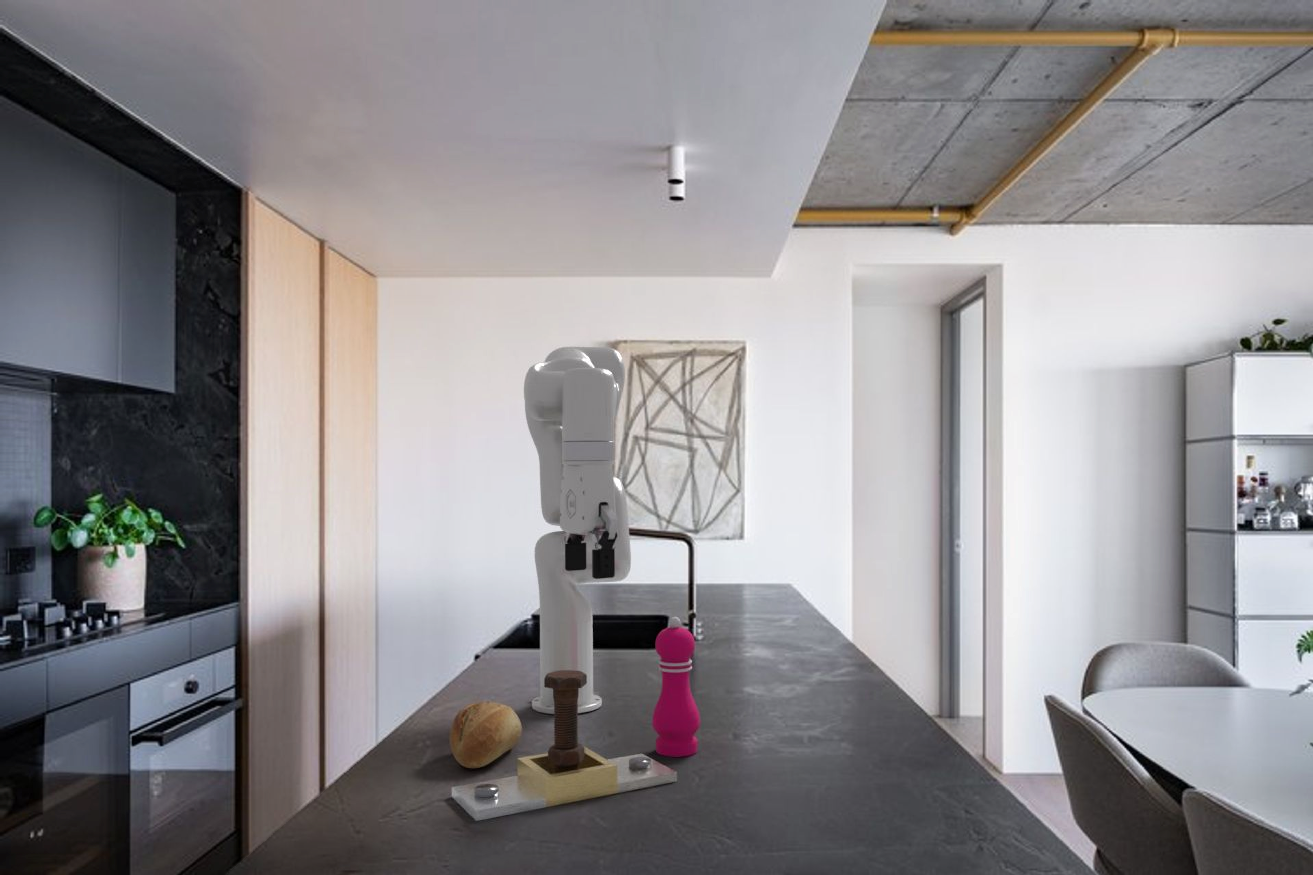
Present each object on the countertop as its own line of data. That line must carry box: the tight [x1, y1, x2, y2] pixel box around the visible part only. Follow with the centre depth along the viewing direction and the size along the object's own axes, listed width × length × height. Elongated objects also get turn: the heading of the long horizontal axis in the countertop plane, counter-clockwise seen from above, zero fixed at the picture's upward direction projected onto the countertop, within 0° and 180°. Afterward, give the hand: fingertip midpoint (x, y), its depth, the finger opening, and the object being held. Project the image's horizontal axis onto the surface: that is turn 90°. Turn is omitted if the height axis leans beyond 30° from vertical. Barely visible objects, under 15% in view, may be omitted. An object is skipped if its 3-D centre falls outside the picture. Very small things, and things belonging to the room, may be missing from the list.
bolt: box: [544, 670, 587, 774], centre depth 122 cm, size 6×5×15 cm
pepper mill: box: [651, 616, 701, 758], centre depth 138 cm, size 7×7×20 cm
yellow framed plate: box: [451, 746, 678, 822], centre depth 121 cm, size 10×28×4 cm, turn 119°
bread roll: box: [448, 701, 523, 769], centre depth 135 cm, size 10×15×8 cm, turn 171°
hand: (589, 573), depth 131 cm, fingers open, 9 cm apart
